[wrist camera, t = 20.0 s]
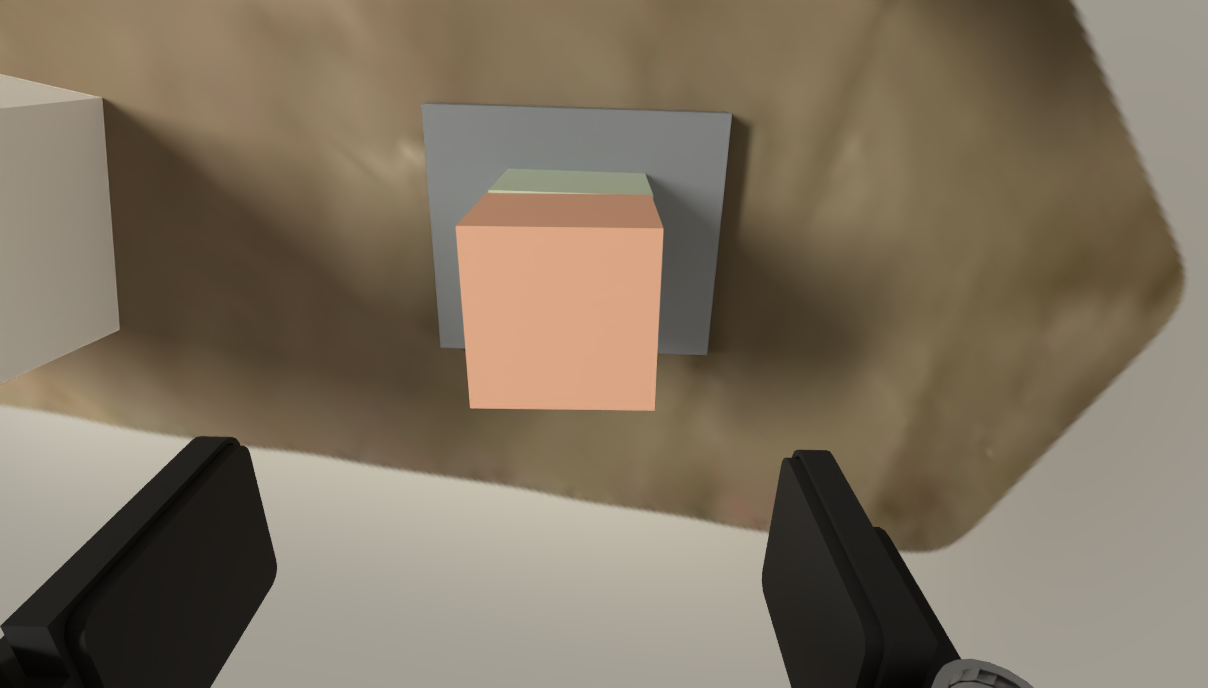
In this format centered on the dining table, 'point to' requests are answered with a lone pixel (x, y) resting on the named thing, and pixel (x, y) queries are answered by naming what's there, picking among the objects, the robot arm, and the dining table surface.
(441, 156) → the gray plate
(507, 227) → the terracotta block
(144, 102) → the dining table surface
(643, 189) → the sage block
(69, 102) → the milk
